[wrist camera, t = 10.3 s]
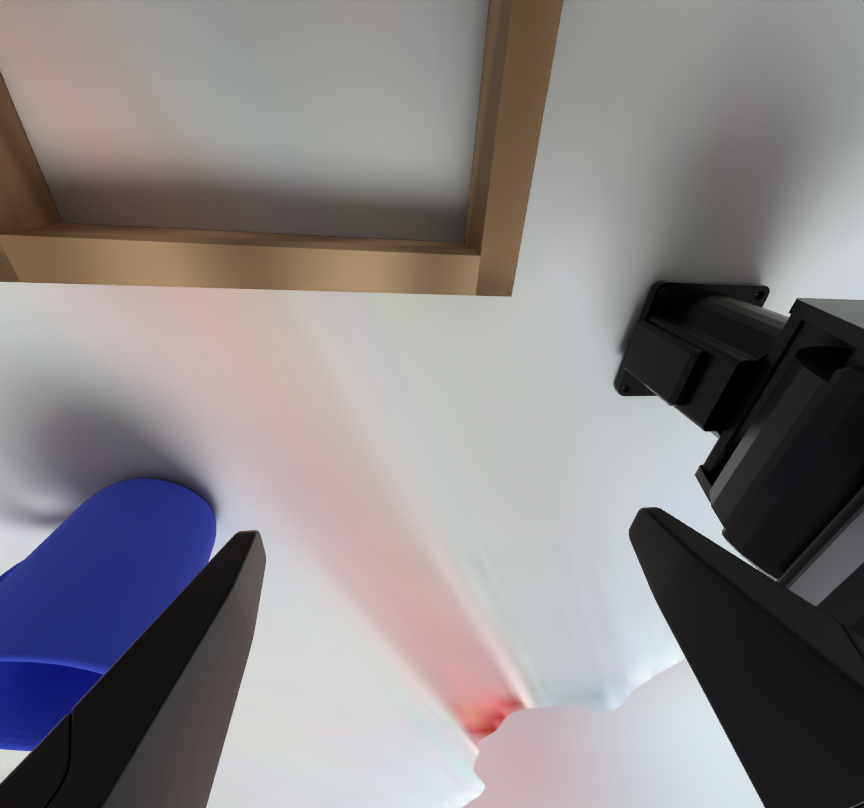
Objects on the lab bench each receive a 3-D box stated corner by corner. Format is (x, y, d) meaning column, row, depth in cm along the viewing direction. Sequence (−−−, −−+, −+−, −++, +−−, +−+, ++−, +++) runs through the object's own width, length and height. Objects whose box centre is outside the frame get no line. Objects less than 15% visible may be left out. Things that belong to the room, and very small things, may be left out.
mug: (-25, 494, 20) (-302, 720, 12) (191, 445, 21) (65, 636, 12) (79, 578, 25) (-71, 786, 17) (256, 538, 25) (196, 724, 17)
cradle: (566, -237, 10) (627, -367, 8) (492, 278, 18) (511, 296, 15) (-296, -447, 8) (-620, -745, 5) (37, 261, 15) (-31, 280, 13)
